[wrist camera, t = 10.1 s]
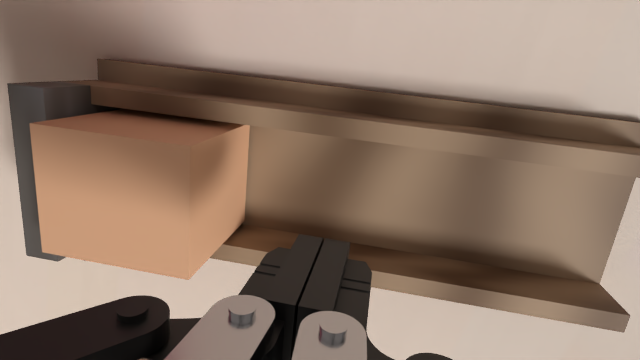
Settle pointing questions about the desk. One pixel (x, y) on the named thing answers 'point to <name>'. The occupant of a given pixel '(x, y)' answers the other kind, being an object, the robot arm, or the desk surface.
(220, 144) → the terracotta block
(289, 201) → the walnut chute
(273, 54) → the desk surface
